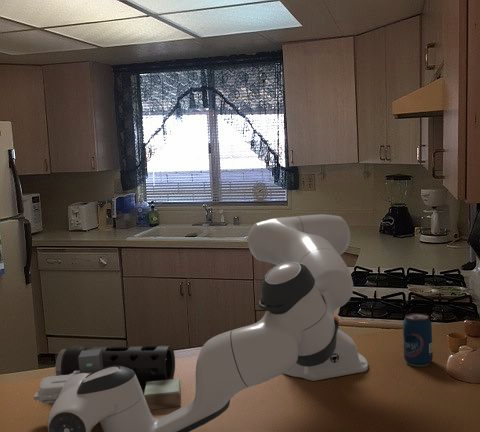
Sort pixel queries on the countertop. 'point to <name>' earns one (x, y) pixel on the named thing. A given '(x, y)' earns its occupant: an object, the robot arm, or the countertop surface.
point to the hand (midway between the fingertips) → (92, 372)
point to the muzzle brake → (125, 361)
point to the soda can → (417, 339)
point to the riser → (163, 394)
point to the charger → (90, 361)
